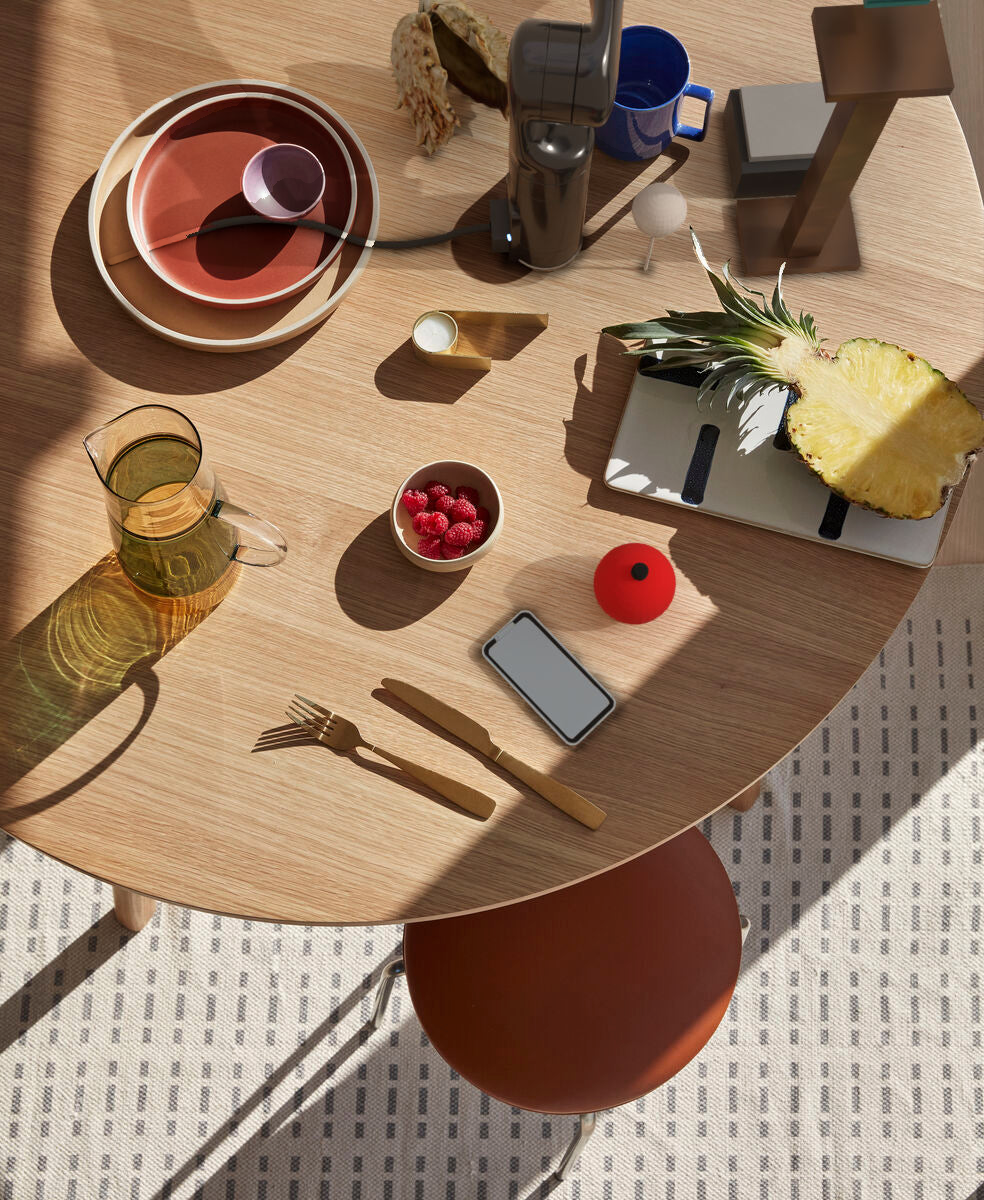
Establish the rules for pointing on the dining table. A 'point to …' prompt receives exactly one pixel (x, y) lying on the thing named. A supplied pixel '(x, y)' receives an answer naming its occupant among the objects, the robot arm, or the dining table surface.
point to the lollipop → (658, 212)
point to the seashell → (447, 66)
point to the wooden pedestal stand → (846, 133)
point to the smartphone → (548, 677)
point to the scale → (773, 136)
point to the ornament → (634, 583)
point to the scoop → (893, 3)
